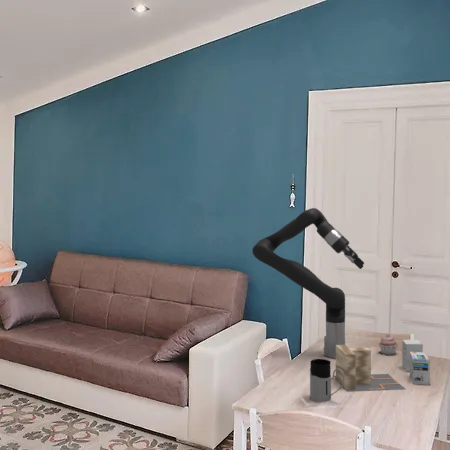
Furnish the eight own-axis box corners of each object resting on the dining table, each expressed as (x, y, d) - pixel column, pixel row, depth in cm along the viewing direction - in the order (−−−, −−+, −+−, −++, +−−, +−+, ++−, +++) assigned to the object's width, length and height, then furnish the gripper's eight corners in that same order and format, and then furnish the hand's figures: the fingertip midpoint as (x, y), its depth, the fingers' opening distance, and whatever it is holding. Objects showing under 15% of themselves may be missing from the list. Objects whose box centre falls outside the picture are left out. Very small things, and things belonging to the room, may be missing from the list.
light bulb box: (430, 385, 218) (430, 359, 217) (412, 384, 219) (413, 358, 219) (425, 376, 228) (425, 351, 228) (409, 375, 230) (409, 351, 229)
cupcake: (376, 354, 261) (376, 334, 260) (380, 350, 269) (380, 330, 269) (396, 357, 257) (396, 336, 256) (399, 352, 265) (399, 332, 264)
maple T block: (345, 389, 211) (345, 354, 211) (335, 377, 225) (335, 345, 225) (375, 388, 212) (375, 353, 212) (363, 376, 226) (363, 344, 226)
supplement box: (418, 366, 242) (418, 339, 241) (423, 372, 234) (423, 343, 234) (401, 366, 242) (402, 339, 242) (405, 371, 235) (405, 343, 234)
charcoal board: (346, 394, 209) (346, 391, 209) (333, 378, 228) (333, 375, 228) (406, 391, 211) (406, 388, 211) (388, 376, 230) (388, 373, 230)
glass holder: (316, 394, 209) (316, 357, 208) (349, 403, 200) (349, 363, 199) (304, 401, 202) (304, 362, 201) (338, 410, 193) (338, 369, 192)
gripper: (330, 249, 250) (356, 274, 245) (330, 243, 236) (356, 269, 232) (342, 238, 250) (367, 263, 245) (342, 232, 236) (369, 258, 232)
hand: (362, 266), depth 238 cm, fingers open, 8 cm apart
